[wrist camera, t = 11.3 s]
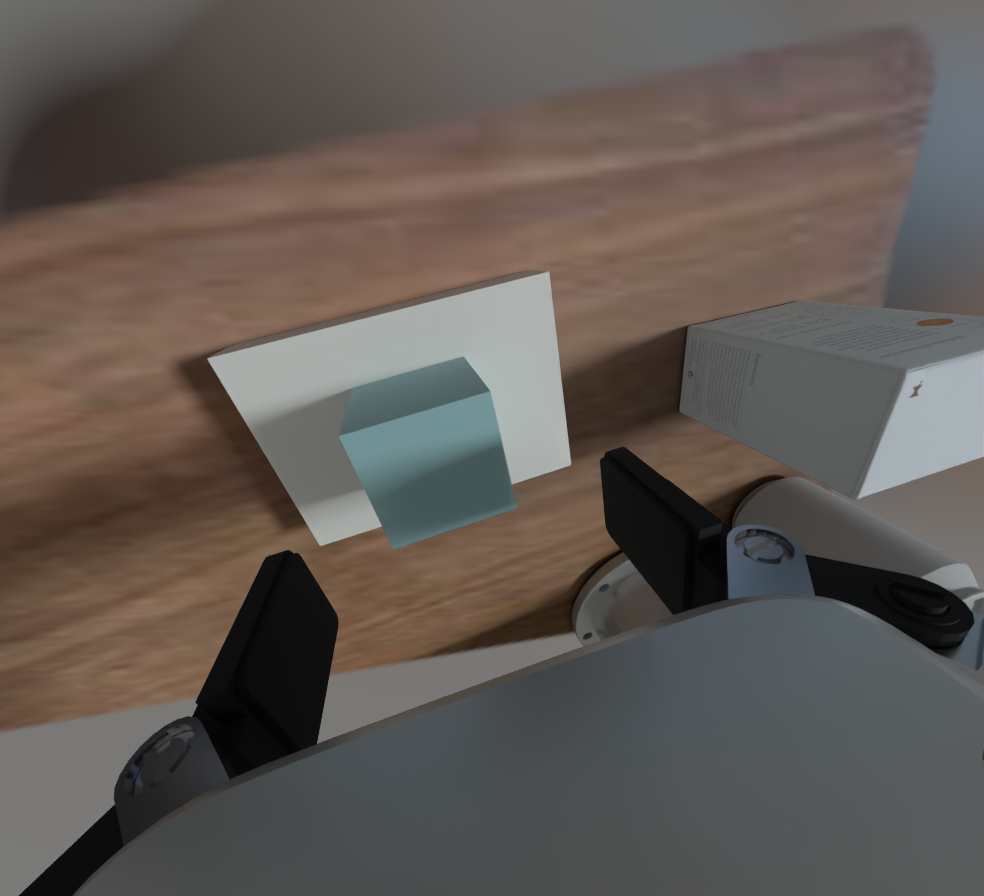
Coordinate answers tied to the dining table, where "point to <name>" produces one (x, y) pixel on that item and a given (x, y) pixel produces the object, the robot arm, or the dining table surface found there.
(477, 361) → the plate
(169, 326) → the dining table surface
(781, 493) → the can
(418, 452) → the teal cube
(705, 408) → the small box
